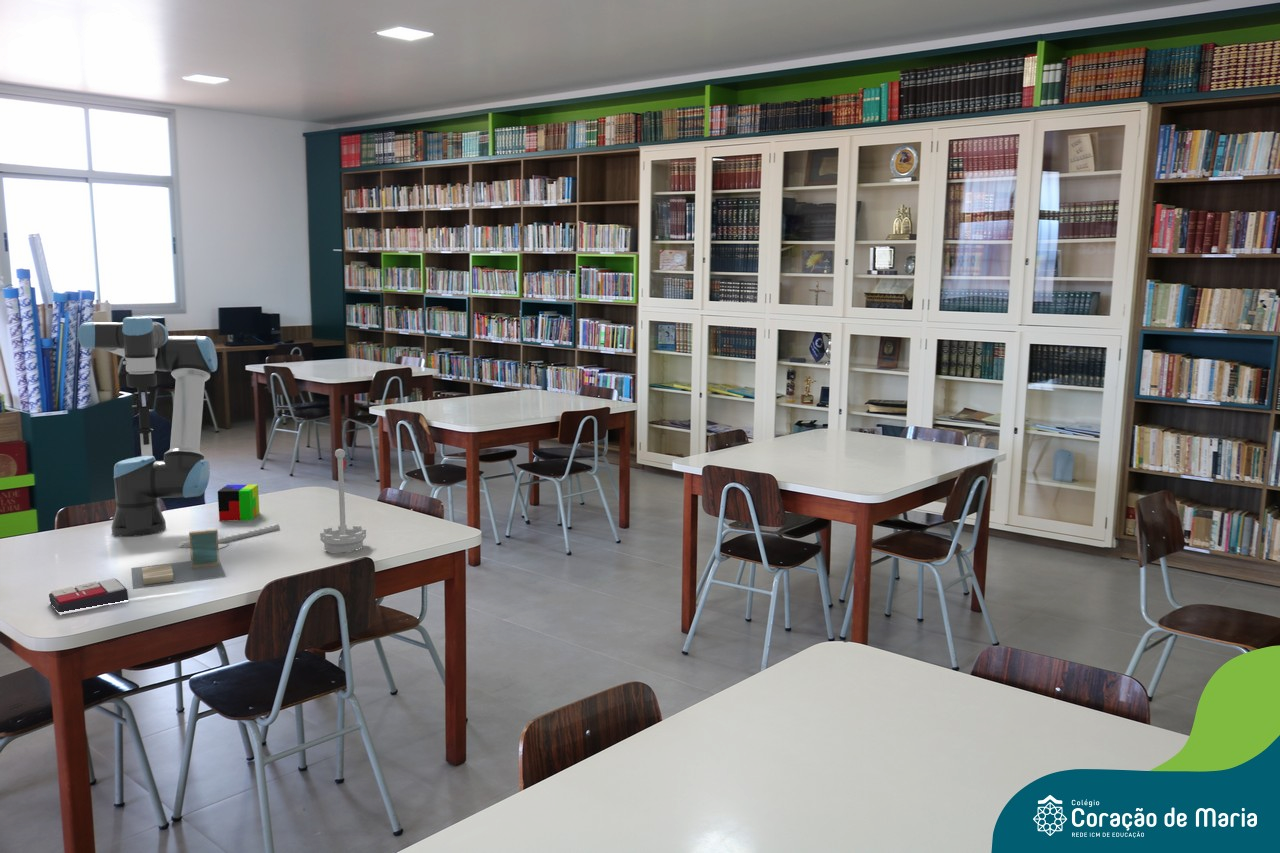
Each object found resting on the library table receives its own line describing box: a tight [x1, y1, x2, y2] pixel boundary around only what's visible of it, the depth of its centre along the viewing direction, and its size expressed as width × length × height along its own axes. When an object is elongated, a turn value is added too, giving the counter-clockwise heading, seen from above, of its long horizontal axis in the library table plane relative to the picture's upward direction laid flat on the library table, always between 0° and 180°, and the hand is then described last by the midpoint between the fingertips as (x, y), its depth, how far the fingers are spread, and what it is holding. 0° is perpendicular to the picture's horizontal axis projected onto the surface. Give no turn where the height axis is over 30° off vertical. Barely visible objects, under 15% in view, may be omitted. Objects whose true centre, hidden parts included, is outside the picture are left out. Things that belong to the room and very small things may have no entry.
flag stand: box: [319, 448, 367, 554], centre depth 281 cm, size 13×13×30 cm
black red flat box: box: [48, 578, 129, 612], centre depth 233 cm, size 11×4×15 cm
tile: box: [142, 563, 174, 585], centre depth 251 cm, size 2×7×10 cm
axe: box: [179, 523, 281, 550], centre depth 290 cm, size 30×14×2 cm, turn 147°
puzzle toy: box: [217, 483, 260, 522], centre depth 317 cm, size 10×10×10 cm
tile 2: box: [188, 528, 220, 568], centre depth 261 cm, size 2×7×10 cm, turn 119°
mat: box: [130, 559, 227, 590], centre depth 256 cm, size 20×22×1 cm
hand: (147, 455), depth 268 cm, fingers closed
